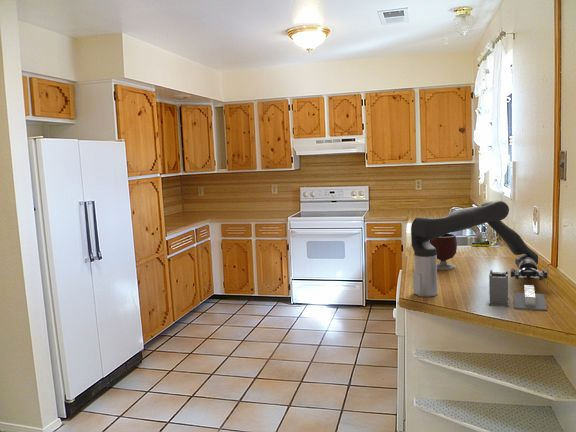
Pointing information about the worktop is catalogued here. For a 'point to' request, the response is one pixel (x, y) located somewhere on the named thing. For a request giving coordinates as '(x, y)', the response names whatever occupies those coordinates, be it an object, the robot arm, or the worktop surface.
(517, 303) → the mat
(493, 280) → the rack
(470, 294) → the worktop surface
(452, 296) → the worktop surface
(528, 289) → the rail
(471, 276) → the worktop surface
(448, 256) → the mate gourd
